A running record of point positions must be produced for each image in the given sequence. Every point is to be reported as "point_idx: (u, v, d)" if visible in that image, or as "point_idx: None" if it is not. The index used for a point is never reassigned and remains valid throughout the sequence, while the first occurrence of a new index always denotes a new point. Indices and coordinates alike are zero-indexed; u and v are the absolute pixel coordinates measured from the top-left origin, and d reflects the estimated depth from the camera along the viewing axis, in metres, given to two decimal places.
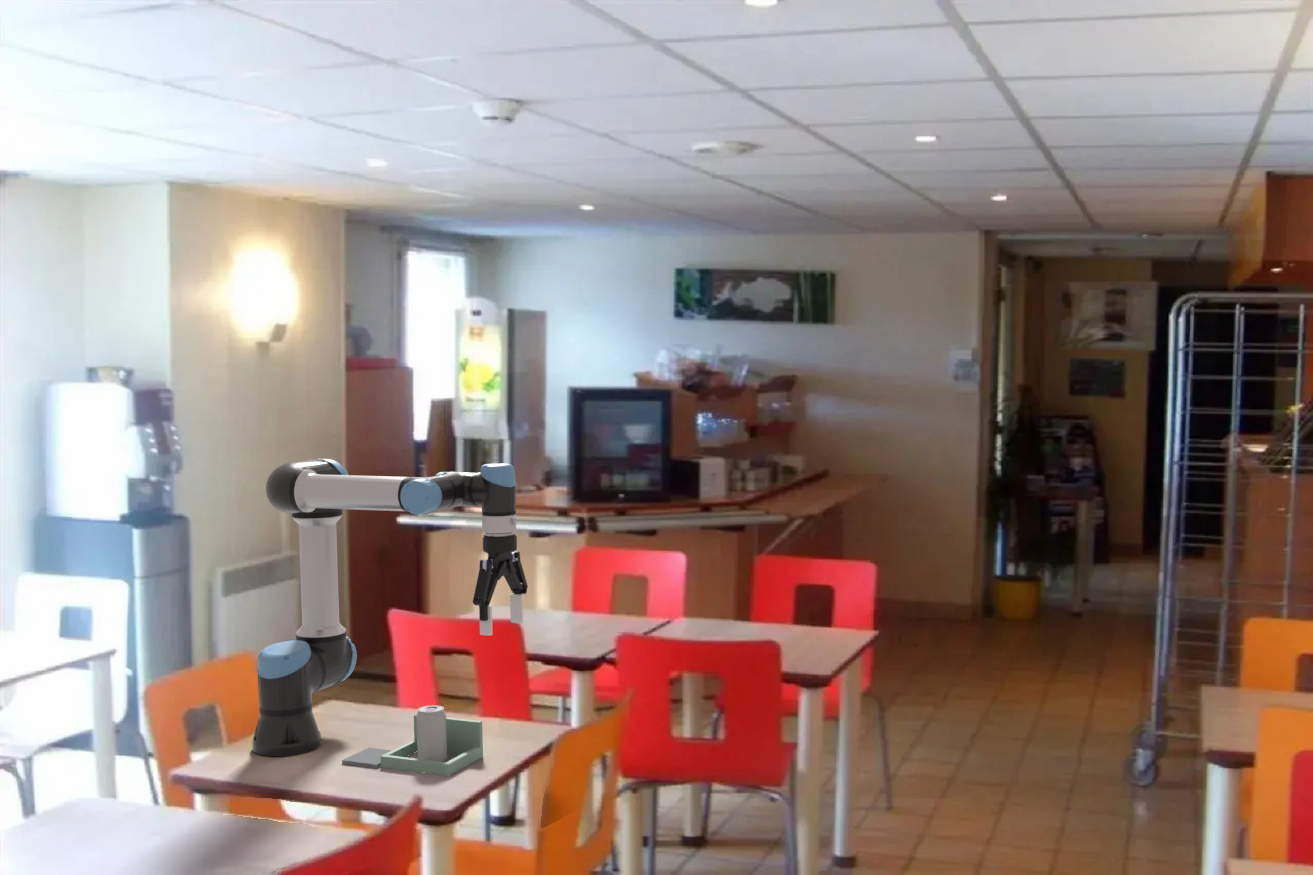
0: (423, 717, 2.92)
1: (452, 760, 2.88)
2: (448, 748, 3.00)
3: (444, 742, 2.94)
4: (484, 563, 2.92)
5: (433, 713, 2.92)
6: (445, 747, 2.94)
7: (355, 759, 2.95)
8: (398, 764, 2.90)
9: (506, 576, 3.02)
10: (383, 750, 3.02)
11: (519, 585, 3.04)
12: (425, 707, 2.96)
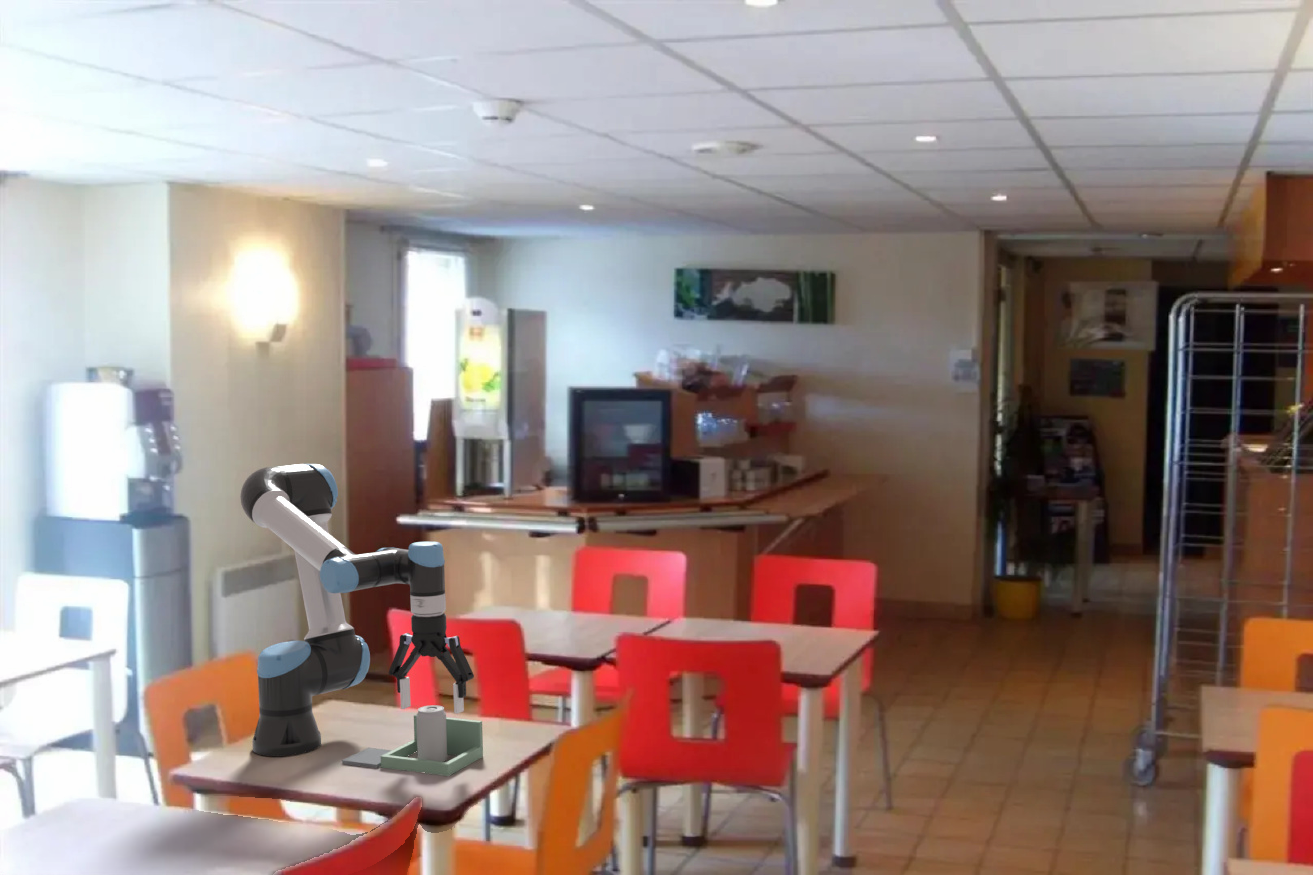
0: (423, 717, 2.92)
1: (452, 760, 2.88)
2: (448, 748, 3.00)
3: (444, 742, 2.94)
4: None
5: (433, 713, 2.92)
6: (445, 747, 2.94)
7: (355, 759, 2.95)
8: (398, 764, 2.90)
9: None
10: (383, 750, 3.02)
11: (452, 673, 2.90)
12: (425, 707, 2.96)
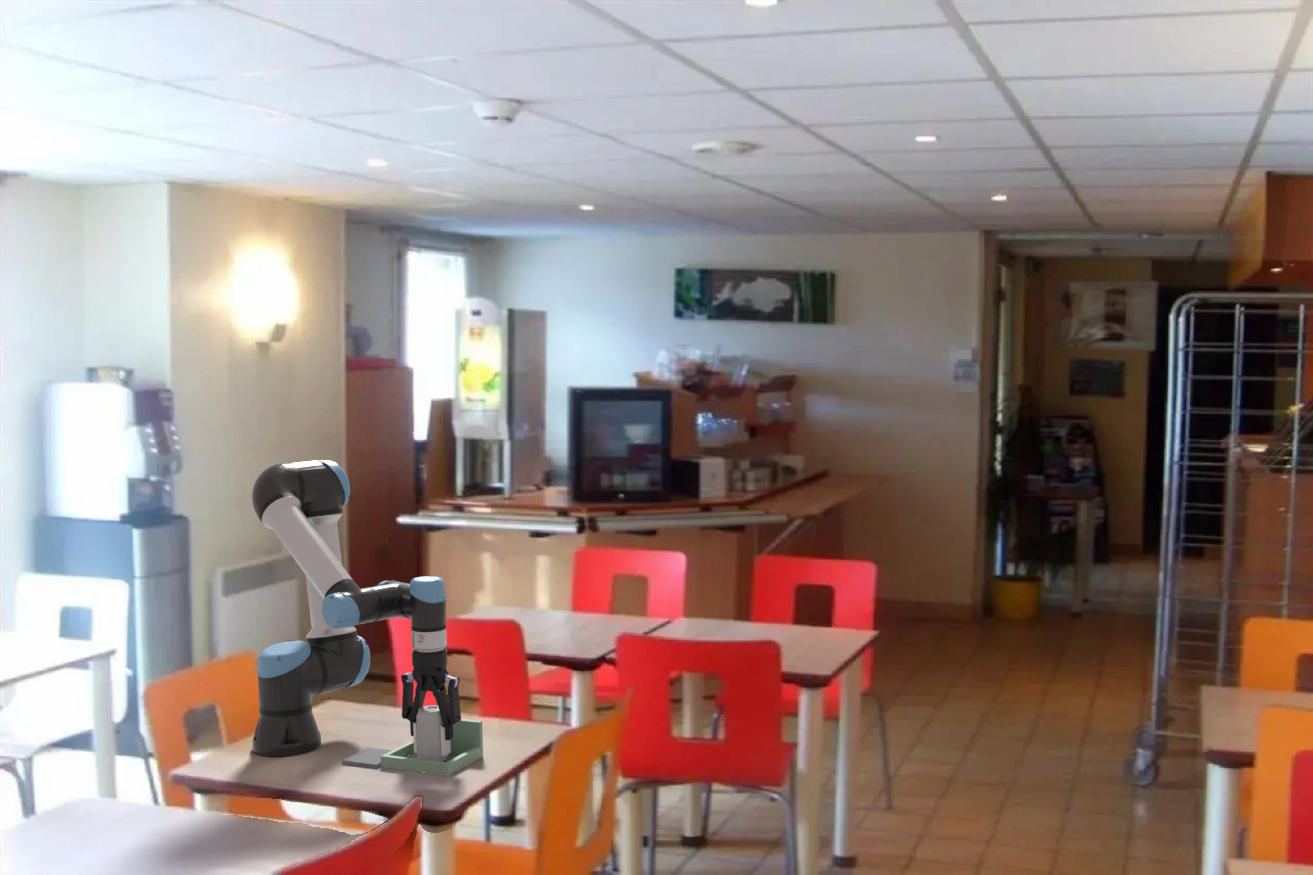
0: (423, 717, 2.92)
1: (452, 760, 2.88)
2: None
3: None
4: None
5: (433, 713, 2.92)
6: None
7: (355, 759, 2.95)
8: (398, 764, 2.90)
9: None
10: (383, 750, 3.02)
11: (442, 714, 2.92)
12: (425, 707, 2.96)
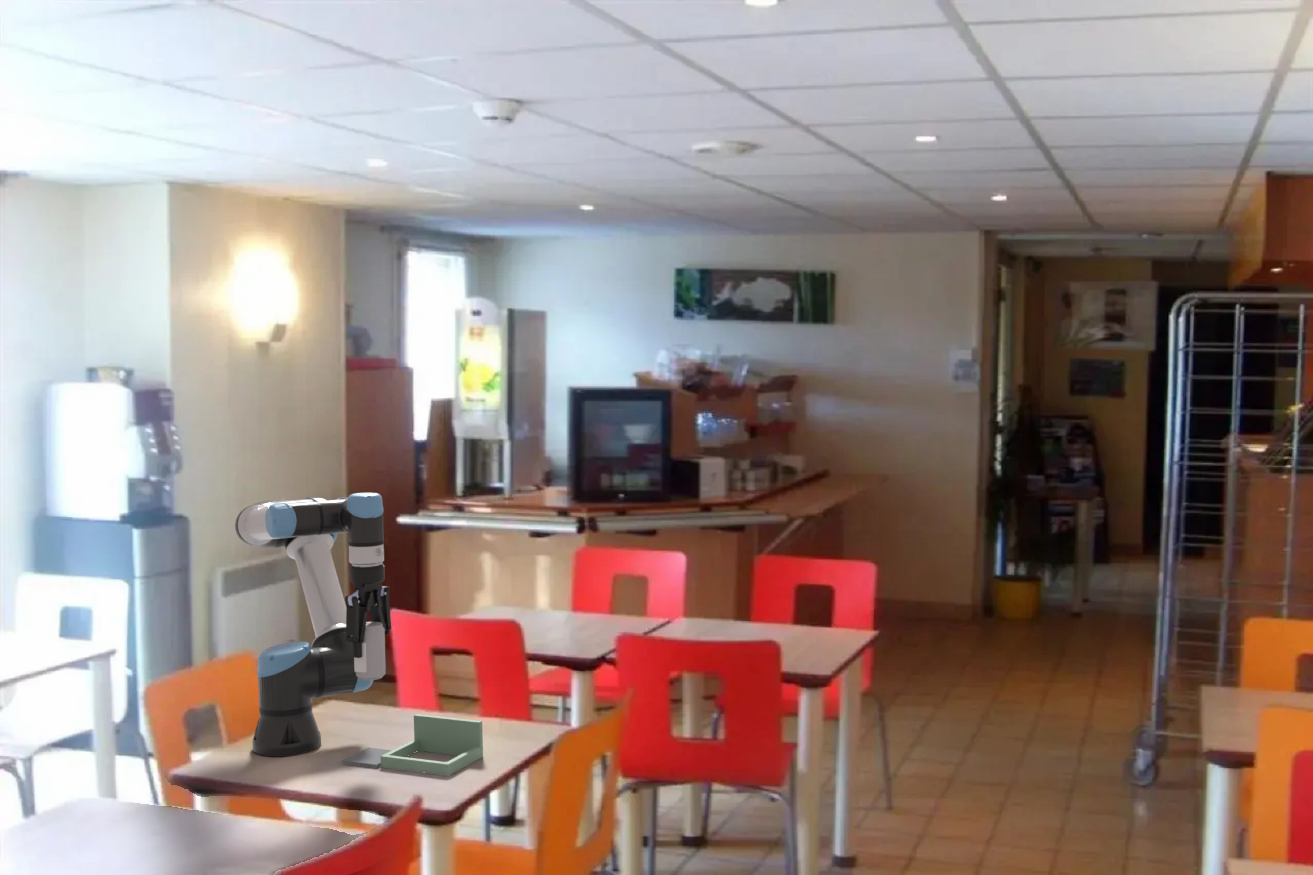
0: (381, 629, 2.95)
1: (452, 760, 2.88)
2: (448, 748, 3.00)
3: None
4: (349, 601, 2.89)
5: (382, 624, 2.97)
6: None
7: (355, 759, 2.95)
8: (398, 764, 2.90)
9: (371, 610, 2.98)
10: (383, 750, 3.02)
11: (383, 624, 2.99)
12: None
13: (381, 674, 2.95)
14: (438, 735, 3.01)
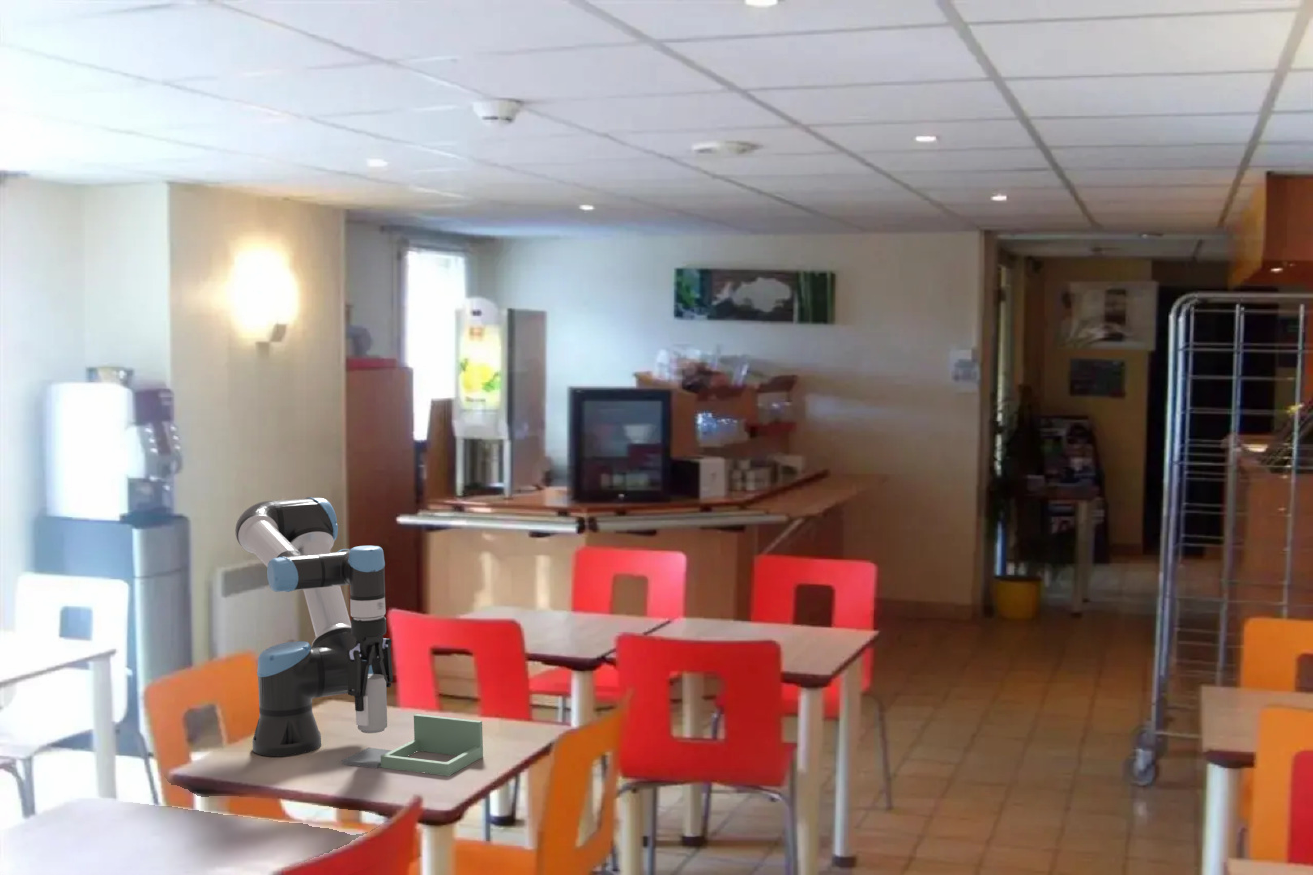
0: (383, 682, 2.95)
1: (452, 760, 2.88)
2: (448, 748, 3.00)
3: None
4: (351, 655, 2.90)
5: (383, 677, 2.97)
6: None
7: (355, 759, 2.95)
8: (398, 764, 2.90)
9: (373, 663, 2.98)
10: (383, 750, 3.02)
11: (384, 676, 2.99)
12: None
13: (383, 727, 2.95)
14: (438, 735, 3.01)
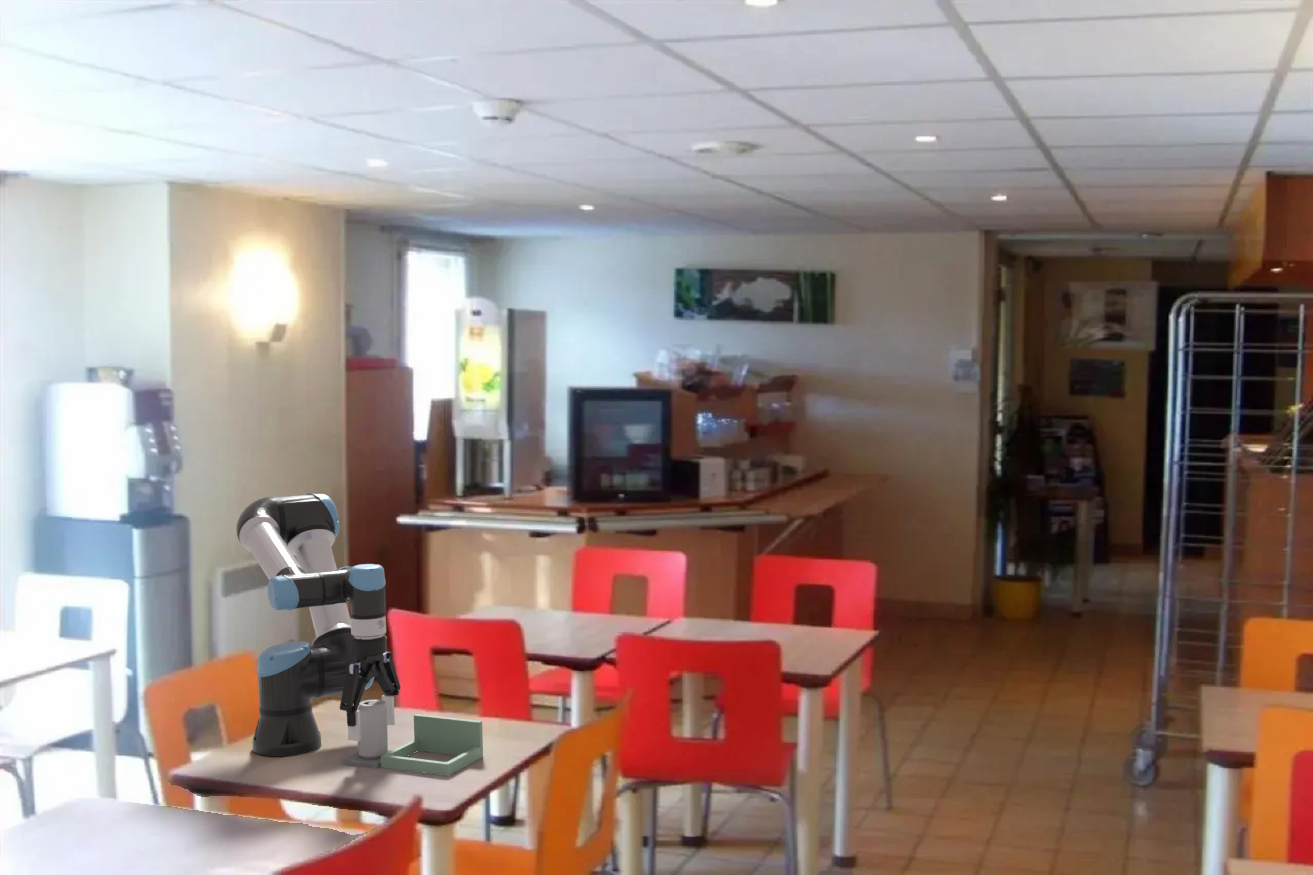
0: (384, 708, 2.96)
1: (452, 760, 2.88)
2: (448, 748, 3.00)
3: None
4: (351, 668, 2.90)
5: (384, 703, 2.98)
6: None
7: (355, 759, 2.95)
8: (398, 764, 2.90)
9: (377, 677, 3.00)
10: None
11: (391, 686, 3.02)
12: (364, 704, 2.95)
13: (383, 753, 2.96)
14: (438, 735, 3.01)
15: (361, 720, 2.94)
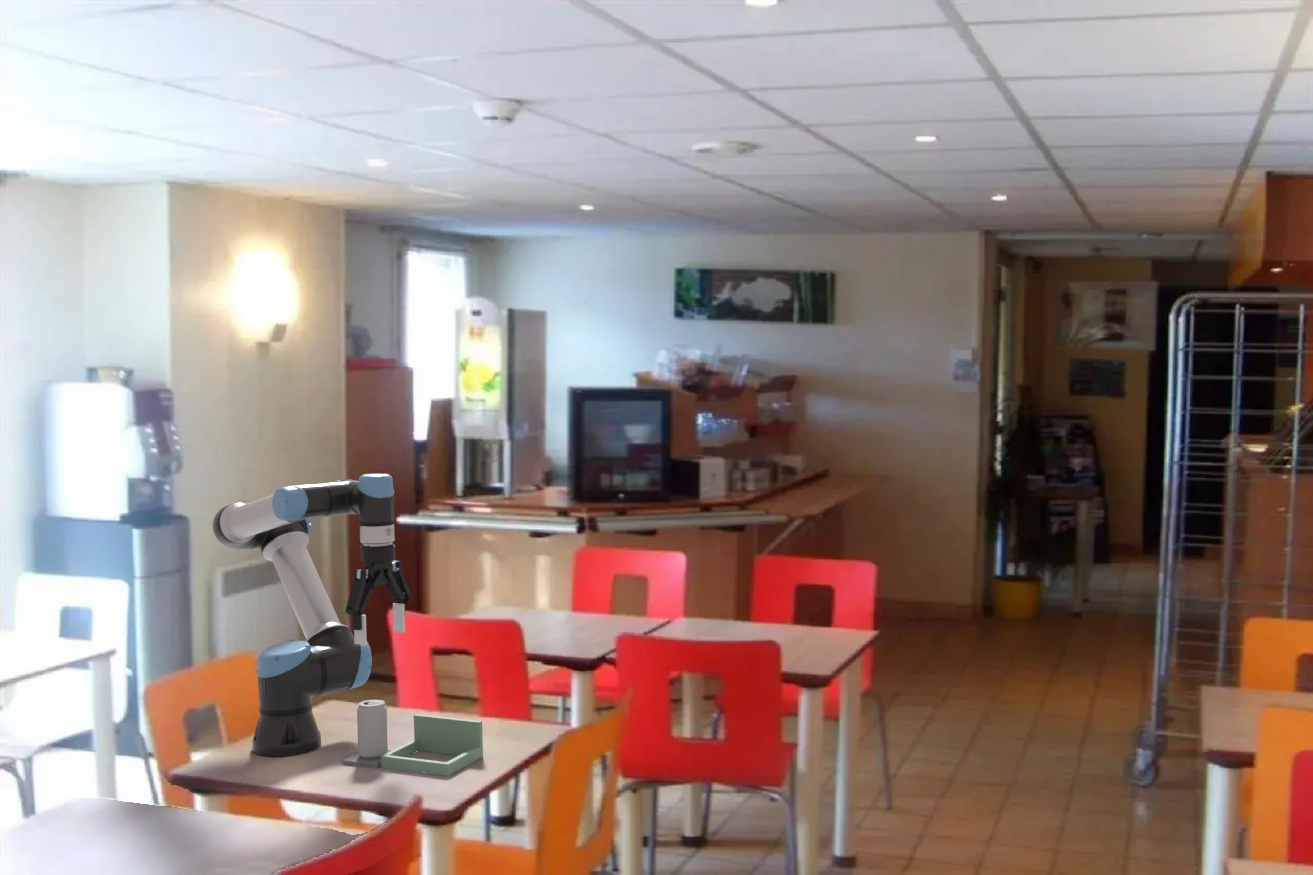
0: (384, 708, 2.96)
1: (452, 760, 2.88)
2: (448, 748, 3.00)
3: None
4: (358, 573, 2.94)
5: None
6: None
7: (355, 759, 2.95)
8: (398, 764, 2.90)
9: (387, 585, 3.04)
10: None
11: (401, 594, 3.06)
12: (364, 705, 2.95)
13: (383, 753, 2.96)
14: (438, 735, 3.01)
15: (361, 720, 2.94)
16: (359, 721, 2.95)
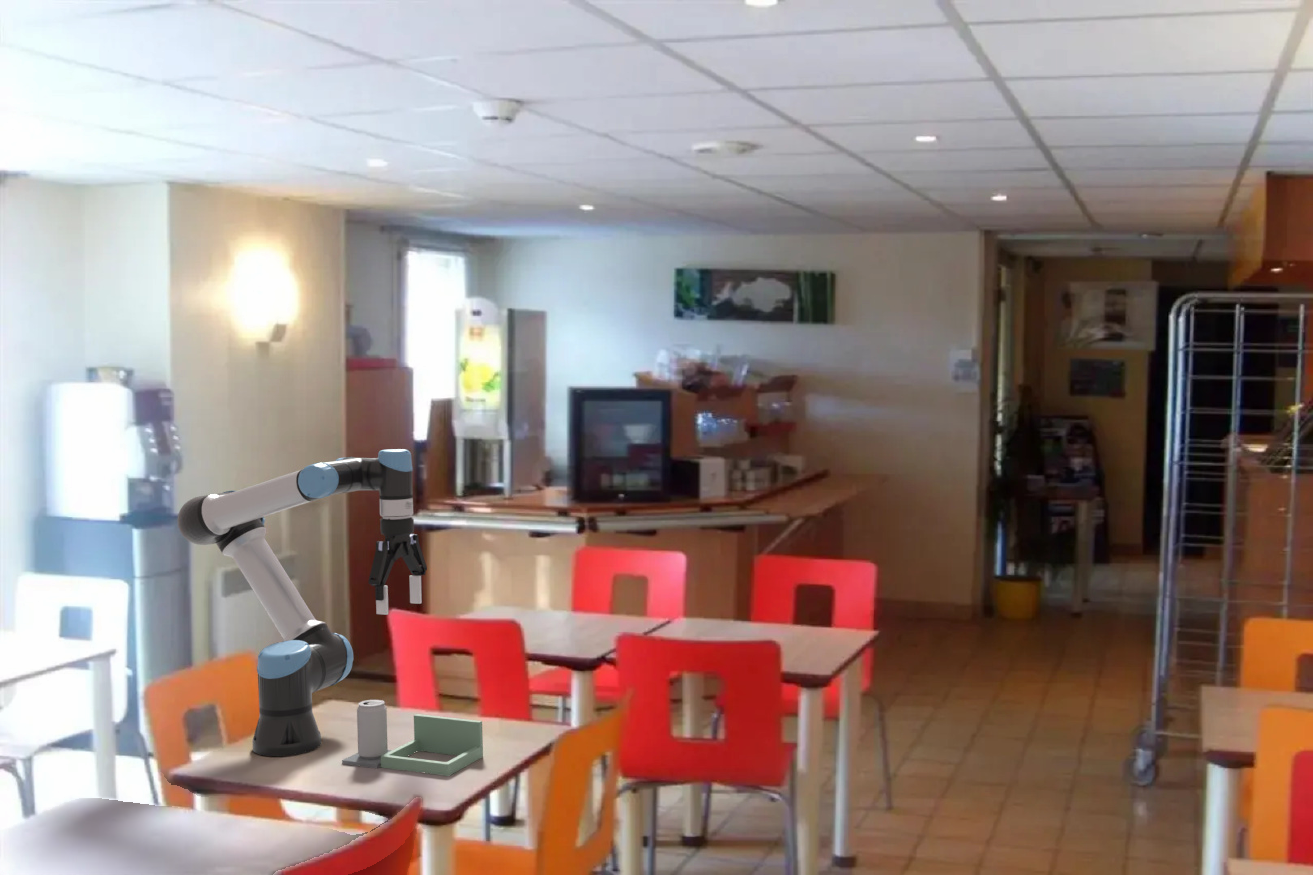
0: (383, 708, 2.96)
1: (452, 760, 2.88)
2: (448, 748, 3.00)
3: None
4: (380, 545, 3.03)
5: None
6: None
7: (355, 759, 2.95)
8: (398, 764, 2.90)
9: (404, 558, 3.13)
10: None
11: (418, 567, 3.15)
12: (364, 705, 2.95)
13: (383, 753, 2.96)
14: (438, 735, 3.01)
15: (361, 720, 2.94)
16: (359, 721, 2.95)
